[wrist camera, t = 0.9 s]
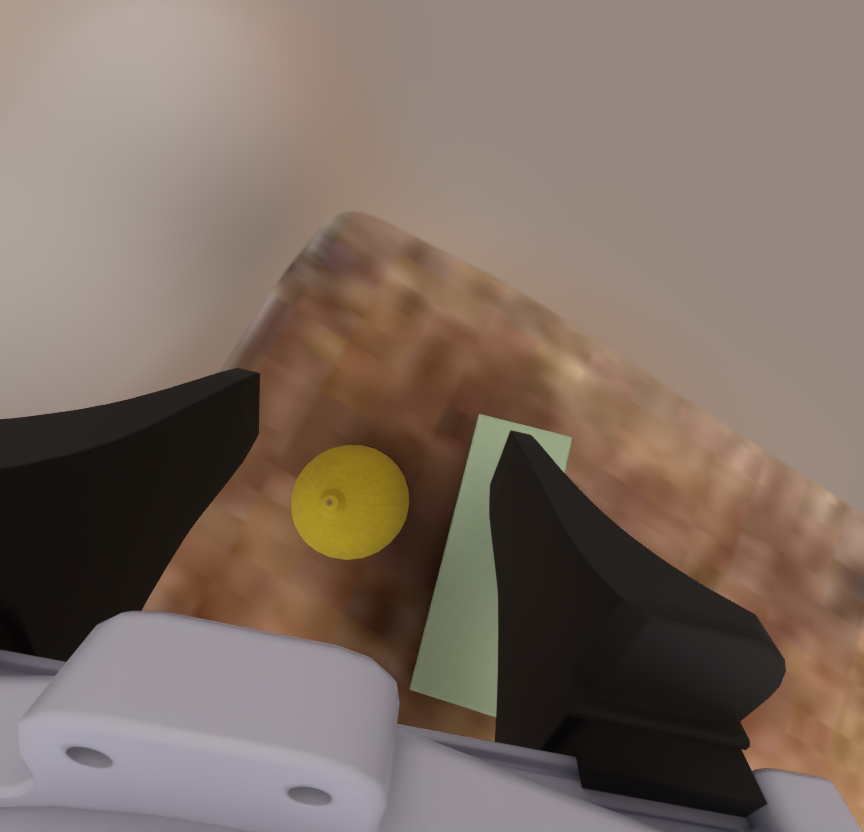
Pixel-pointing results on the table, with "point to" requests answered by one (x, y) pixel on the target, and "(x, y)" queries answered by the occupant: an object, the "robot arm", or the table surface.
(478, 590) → the green block
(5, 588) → the robot arm
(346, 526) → the lemon
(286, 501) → the table surface
